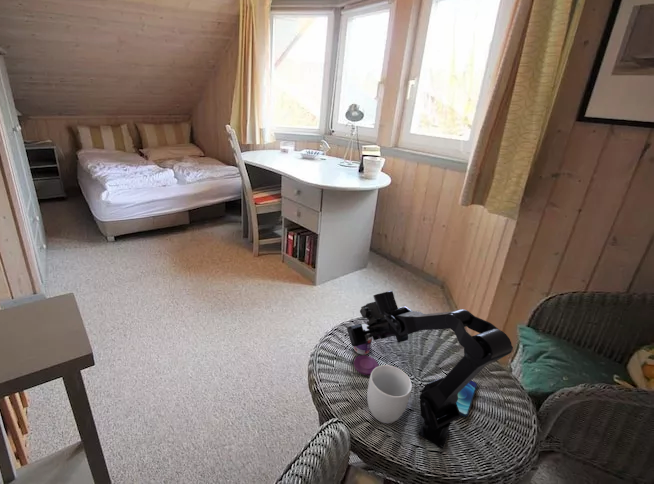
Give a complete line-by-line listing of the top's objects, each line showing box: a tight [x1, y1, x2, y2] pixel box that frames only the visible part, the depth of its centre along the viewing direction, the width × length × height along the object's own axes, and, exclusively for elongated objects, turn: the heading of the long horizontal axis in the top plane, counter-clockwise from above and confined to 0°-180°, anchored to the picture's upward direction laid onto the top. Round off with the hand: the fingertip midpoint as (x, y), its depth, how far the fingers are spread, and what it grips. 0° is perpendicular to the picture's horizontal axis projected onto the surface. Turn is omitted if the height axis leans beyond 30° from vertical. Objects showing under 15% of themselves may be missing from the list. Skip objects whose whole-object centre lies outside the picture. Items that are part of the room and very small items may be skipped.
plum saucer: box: [353, 354, 380, 377], centre depth 117 cm, size 8×8×1 cm
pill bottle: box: [353, 323, 373, 356], centre depth 122 cm, size 5×5×10 cm
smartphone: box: [456, 380, 478, 418], centre depth 108 cm, size 8×1×15 cm
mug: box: [366, 364, 413, 424], centre depth 100 cm, size 15×11×13 cm
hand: (362, 332), depth 122 cm, fingers closed on pill bottle, 5 cm apart
